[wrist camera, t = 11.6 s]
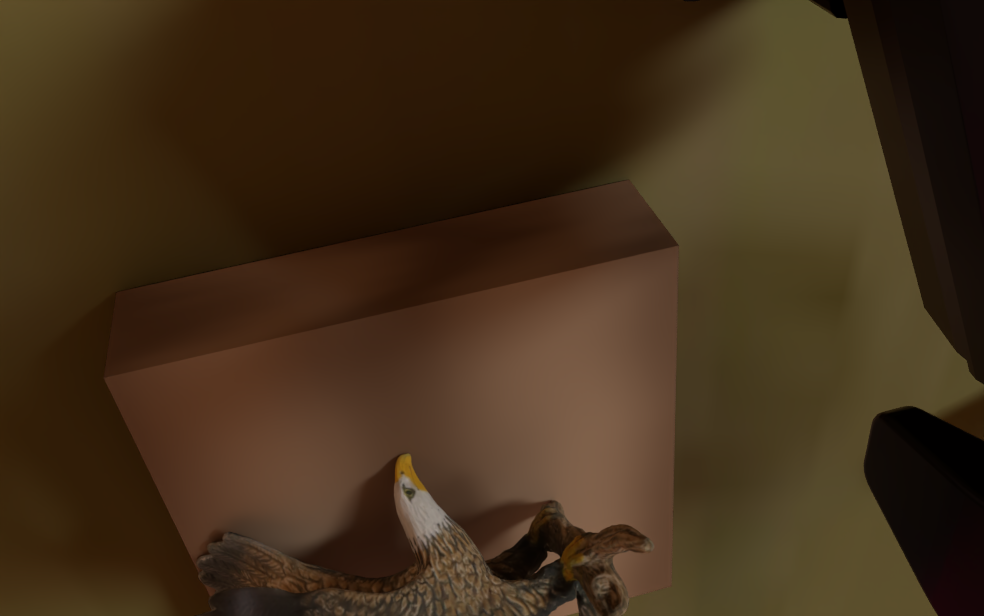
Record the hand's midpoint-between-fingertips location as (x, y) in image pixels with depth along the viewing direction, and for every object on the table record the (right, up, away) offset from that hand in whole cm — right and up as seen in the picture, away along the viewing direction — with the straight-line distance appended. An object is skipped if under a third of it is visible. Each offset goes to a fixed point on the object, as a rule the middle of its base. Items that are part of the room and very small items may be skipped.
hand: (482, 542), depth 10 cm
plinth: (-2, -1, +15) cm, 15 cm away
